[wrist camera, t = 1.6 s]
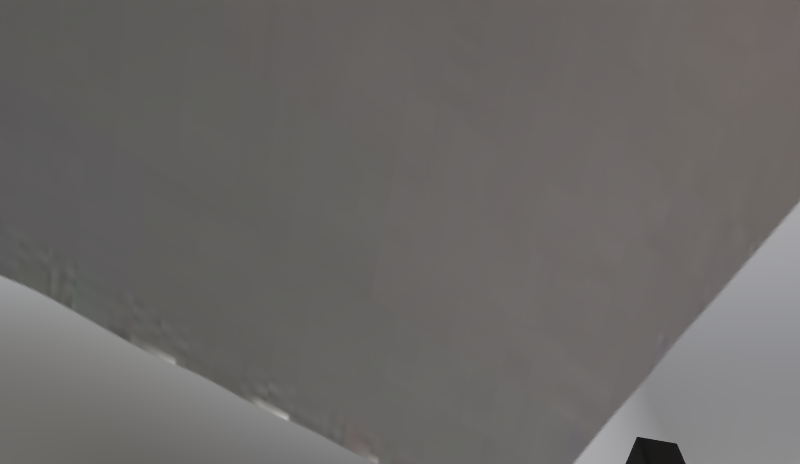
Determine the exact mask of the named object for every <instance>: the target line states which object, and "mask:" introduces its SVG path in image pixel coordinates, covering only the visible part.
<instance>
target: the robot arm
mask: <svg viewBox="0 0 800 464" xmlns="http://www.w3.org/2000/svg"><path fill="white" fill-rule="evenodd" d="M626 464H685V462H684V459H683V457H682V455H681V452H680V450H679V448H678V445H677V444H675V443H670V442H664V441H658V440H652V439H646V438H641V437H637V438H636V441H635V443H634V445H633V448H632V450H631V453H630V455H629V457H628V460H627V462H626Z"/></svg>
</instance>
